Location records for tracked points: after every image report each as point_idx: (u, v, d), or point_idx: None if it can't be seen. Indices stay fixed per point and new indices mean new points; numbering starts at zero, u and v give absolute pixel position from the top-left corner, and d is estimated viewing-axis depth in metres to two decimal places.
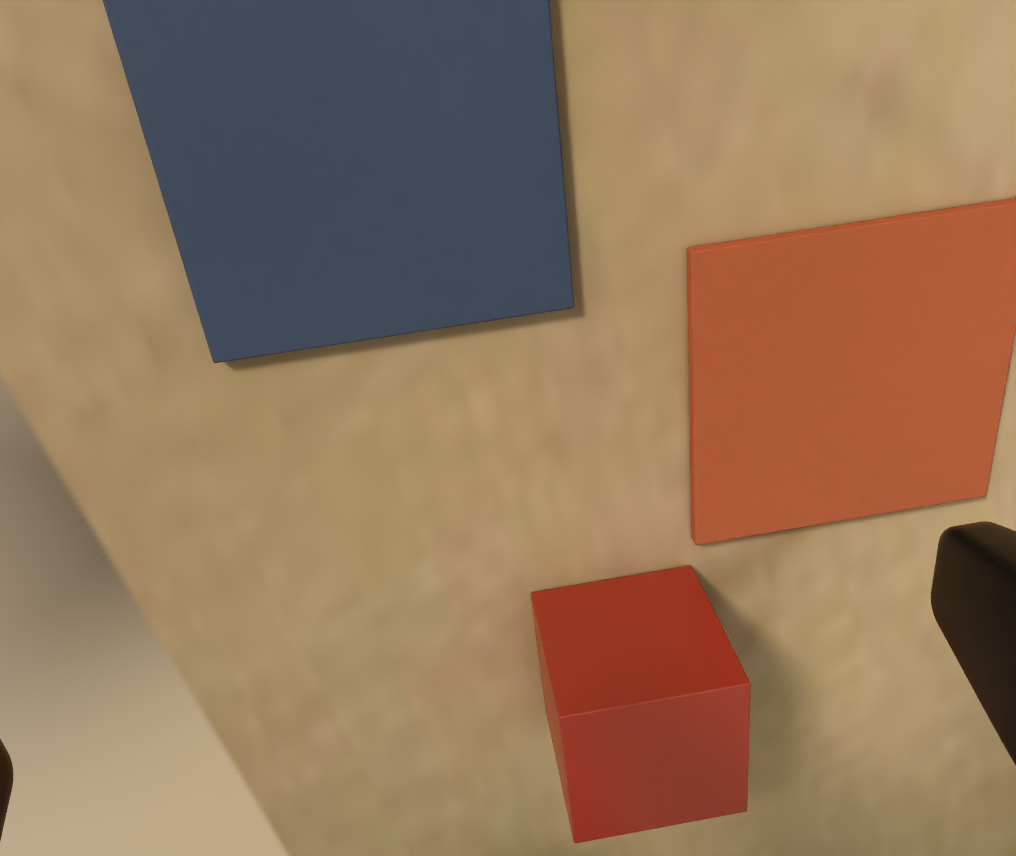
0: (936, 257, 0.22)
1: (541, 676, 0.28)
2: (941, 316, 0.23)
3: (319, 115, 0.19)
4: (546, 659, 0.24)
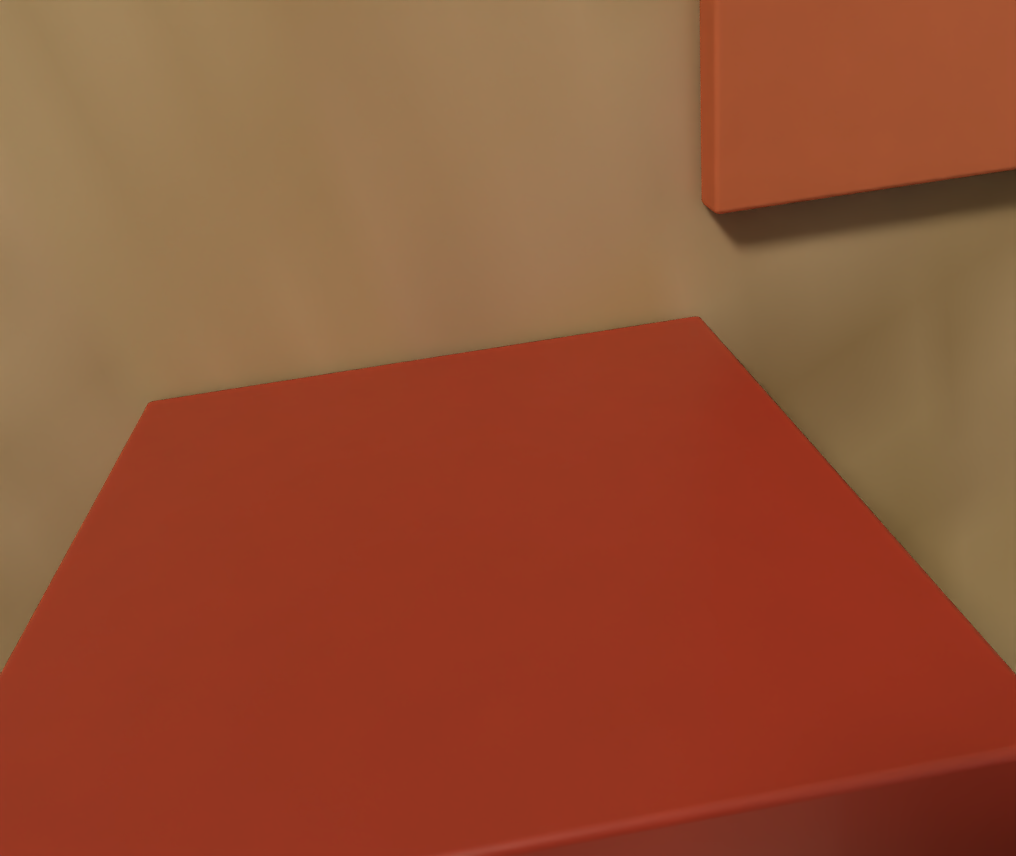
0: None
1: None
2: None
3: None
4: (34, 616, 0.05)
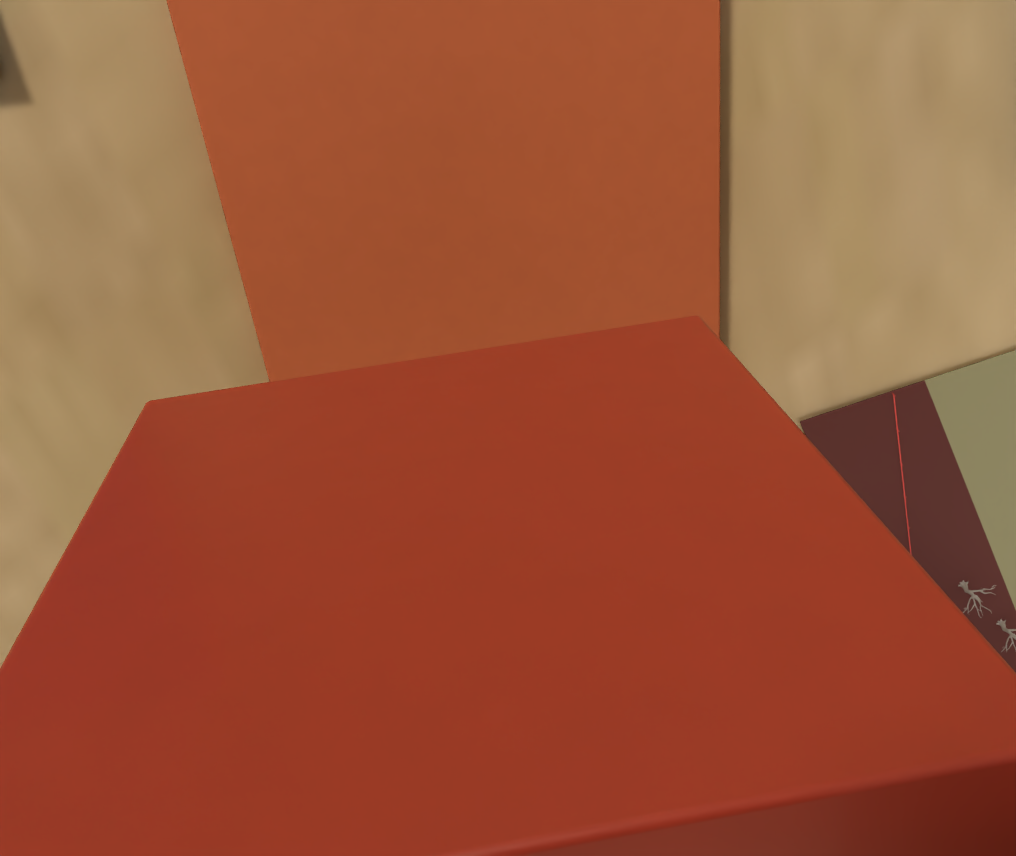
0: (570, 10, 0.15)
1: None
2: (598, 113, 0.15)
3: None
4: (31, 616, 0.05)
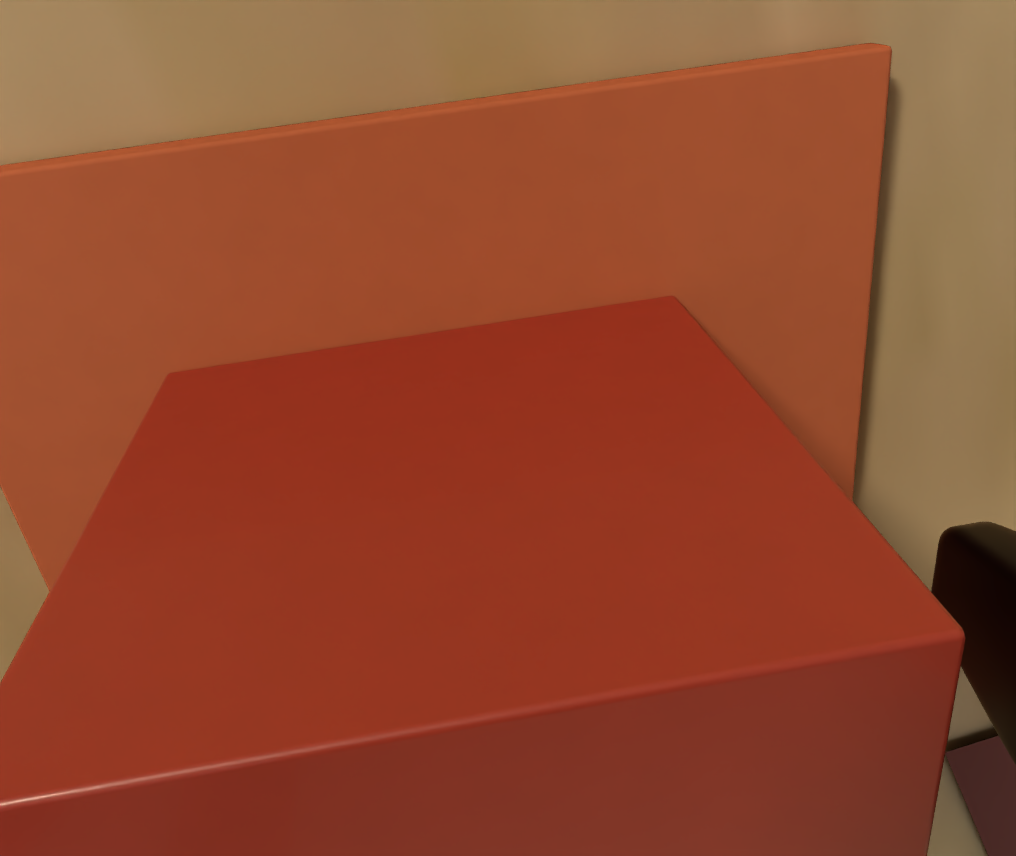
0: (617, 212, 0.08)
1: None
2: None
3: None
4: (74, 550, 0.06)
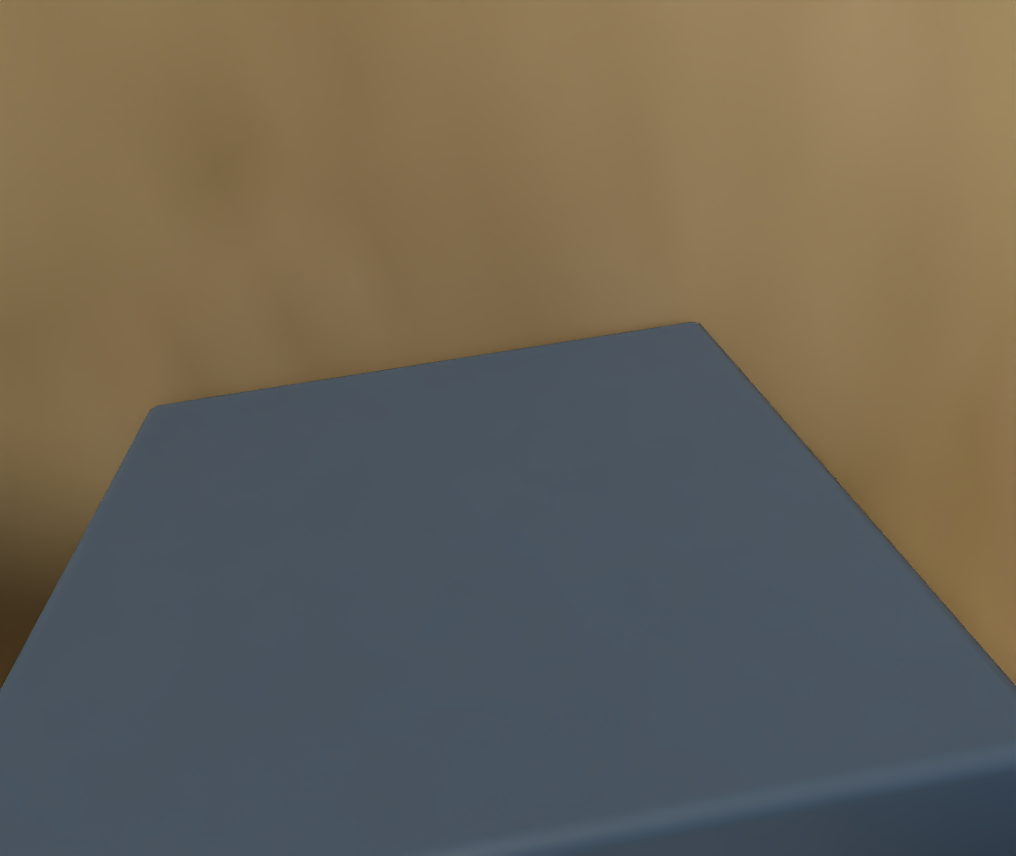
0: None
1: None
2: None
3: None
4: None
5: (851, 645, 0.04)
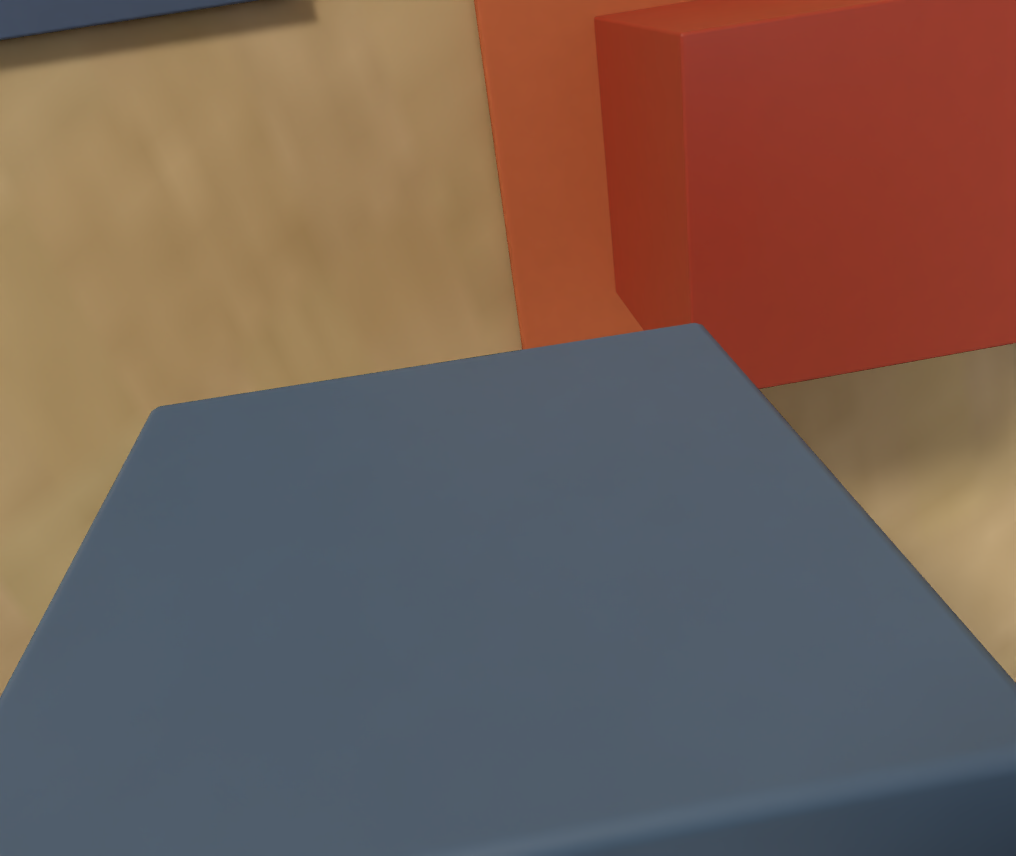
0: None
1: (610, 215, 0.16)
2: None
3: None
4: (637, 25, 0.12)
5: (855, 647, 0.04)
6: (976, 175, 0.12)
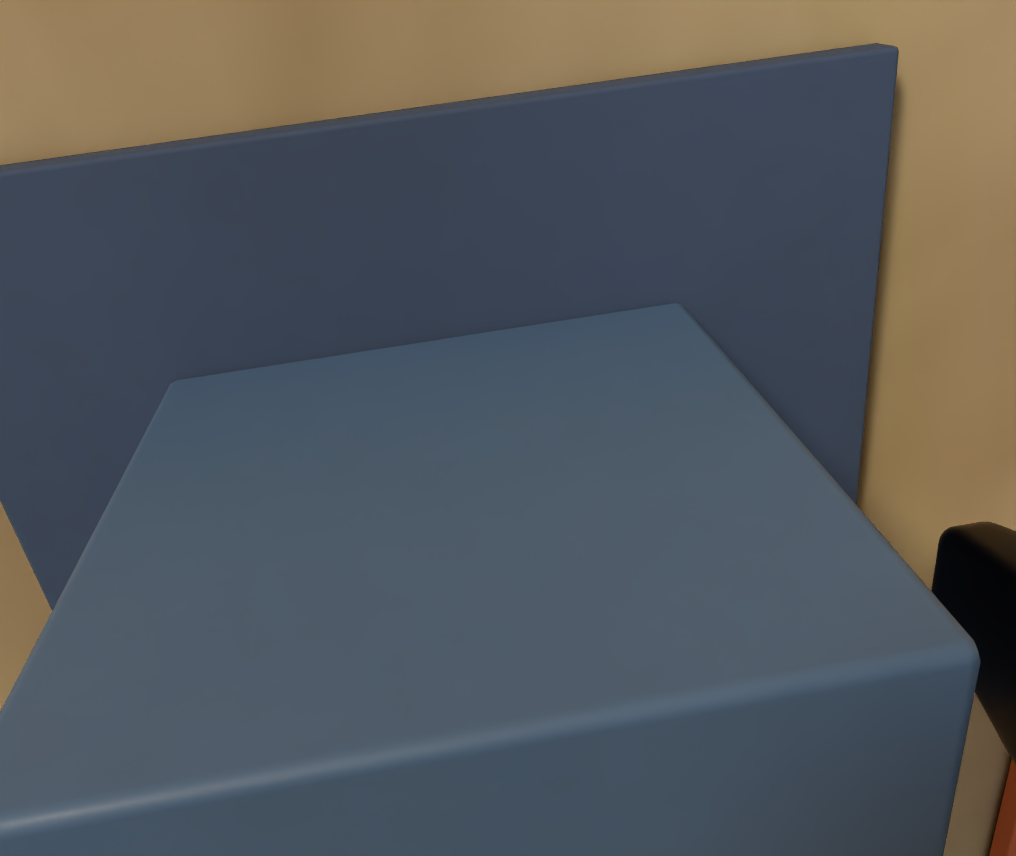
0: None
1: None
2: None
3: None
4: None
5: (802, 573, 0.05)
6: None
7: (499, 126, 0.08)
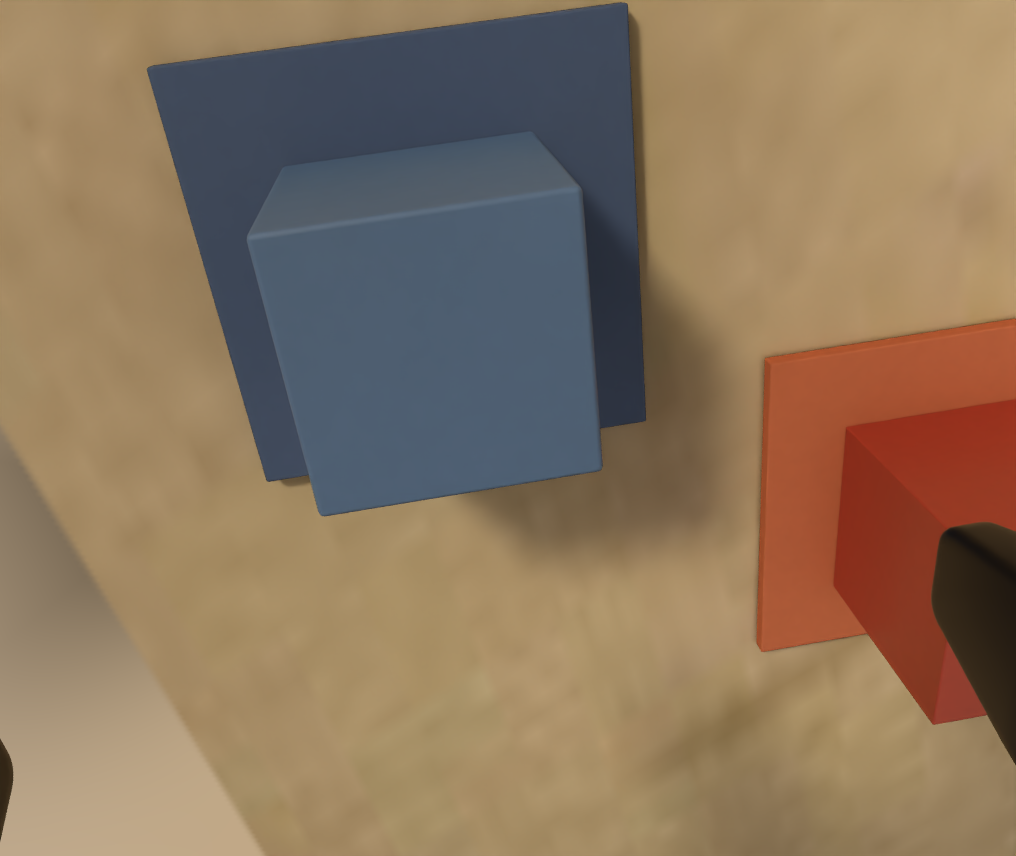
0: None
1: (837, 540, 0.23)
2: None
3: None
4: (907, 488, 0.19)
5: (534, 180, 0.14)
6: None
7: (439, 40, 0.16)
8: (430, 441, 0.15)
